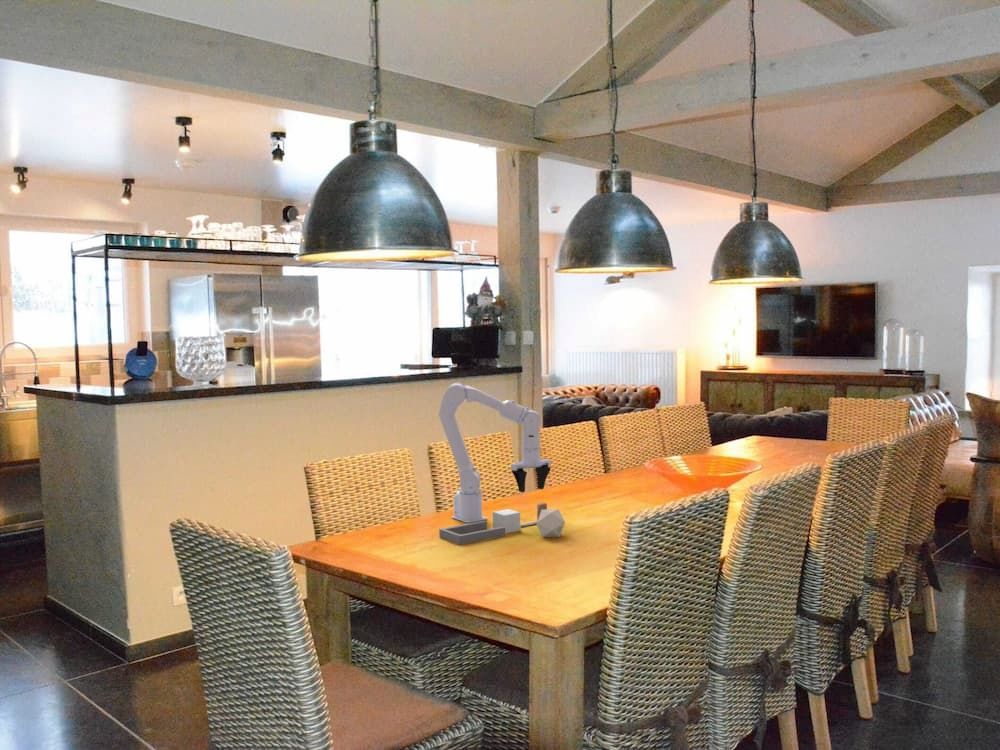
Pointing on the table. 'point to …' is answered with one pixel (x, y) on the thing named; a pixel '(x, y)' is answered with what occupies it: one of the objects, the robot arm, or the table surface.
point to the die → (550, 523)
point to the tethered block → (513, 518)
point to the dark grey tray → (470, 533)
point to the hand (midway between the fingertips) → (531, 490)
